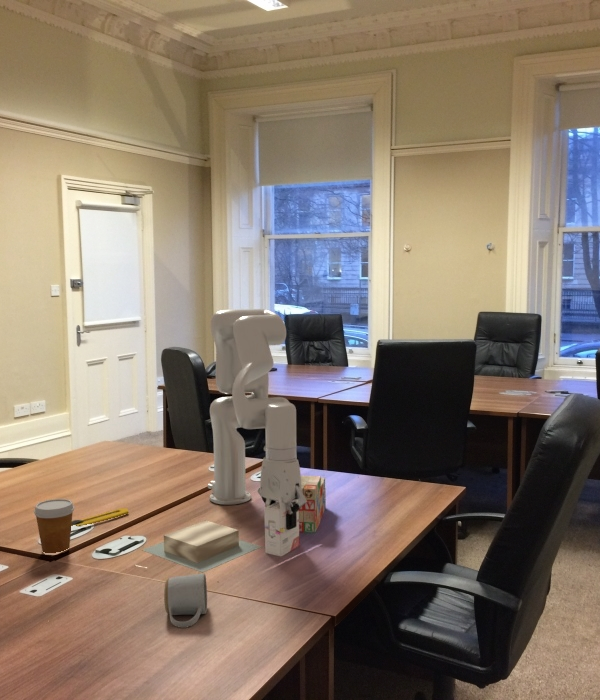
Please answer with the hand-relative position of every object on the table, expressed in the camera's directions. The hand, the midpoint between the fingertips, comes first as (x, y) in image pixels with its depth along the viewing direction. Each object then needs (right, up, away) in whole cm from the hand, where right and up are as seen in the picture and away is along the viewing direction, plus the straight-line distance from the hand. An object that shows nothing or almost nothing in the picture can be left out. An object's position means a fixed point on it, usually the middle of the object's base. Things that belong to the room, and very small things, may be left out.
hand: (281, 524), depth 174 cm
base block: (-20, -6, +1) cm, 21 cm away
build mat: (-20, -7, +1) cm, 21 cm away
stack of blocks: (+7, -5, +24) cm, 25 cm away
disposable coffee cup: (-56, -7, +2) cm, 57 cm away
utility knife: (-54, -5, +23) cm, 59 cm away
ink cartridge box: (0, -7, +1) cm, 7 cm away
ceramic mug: (-18, -10, -33) cm, 39 cm away
